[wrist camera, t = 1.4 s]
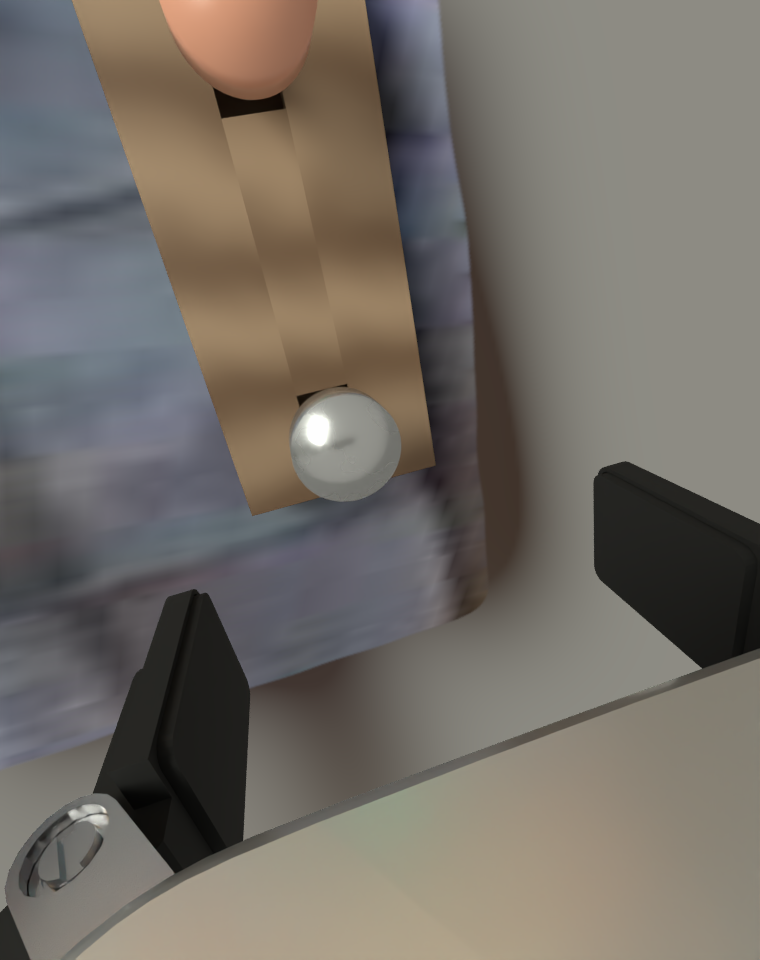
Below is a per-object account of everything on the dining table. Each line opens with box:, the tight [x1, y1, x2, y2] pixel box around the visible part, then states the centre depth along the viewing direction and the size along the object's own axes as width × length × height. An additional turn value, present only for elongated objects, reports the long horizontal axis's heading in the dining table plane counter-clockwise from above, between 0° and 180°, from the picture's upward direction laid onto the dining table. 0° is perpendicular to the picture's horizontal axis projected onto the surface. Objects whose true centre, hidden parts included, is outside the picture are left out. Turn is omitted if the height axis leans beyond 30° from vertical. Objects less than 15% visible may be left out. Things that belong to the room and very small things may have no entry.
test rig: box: [72, 0, 436, 516], centre depth 26 cm, size 26×12×5 cm, turn 11°
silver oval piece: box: [289, 387, 401, 502], centre depth 24 cm, size 5×5×7 cm
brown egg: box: [159, 0, 318, 100], centre depth 17 cm, size 5×5×7 cm
